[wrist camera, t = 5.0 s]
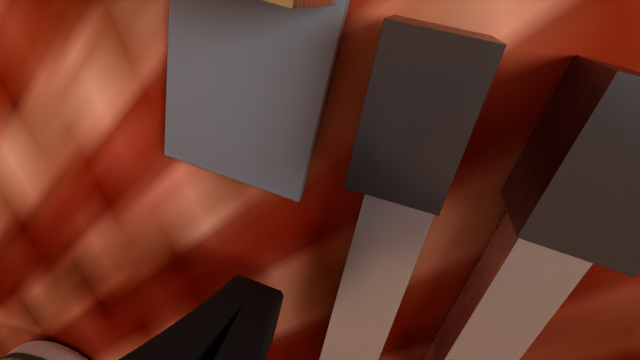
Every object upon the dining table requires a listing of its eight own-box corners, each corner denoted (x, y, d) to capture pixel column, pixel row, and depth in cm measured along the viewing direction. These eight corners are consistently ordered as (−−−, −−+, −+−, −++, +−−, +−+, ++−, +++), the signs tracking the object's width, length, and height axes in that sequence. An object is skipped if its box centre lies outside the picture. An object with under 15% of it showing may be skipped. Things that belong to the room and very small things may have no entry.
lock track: (412, -255, 6) (411, -267, 5) (302, 196, 10) (298, 202, 9) (189, -293, 6) (178, -307, 6) (171, 150, 10) (164, 154, 10)
